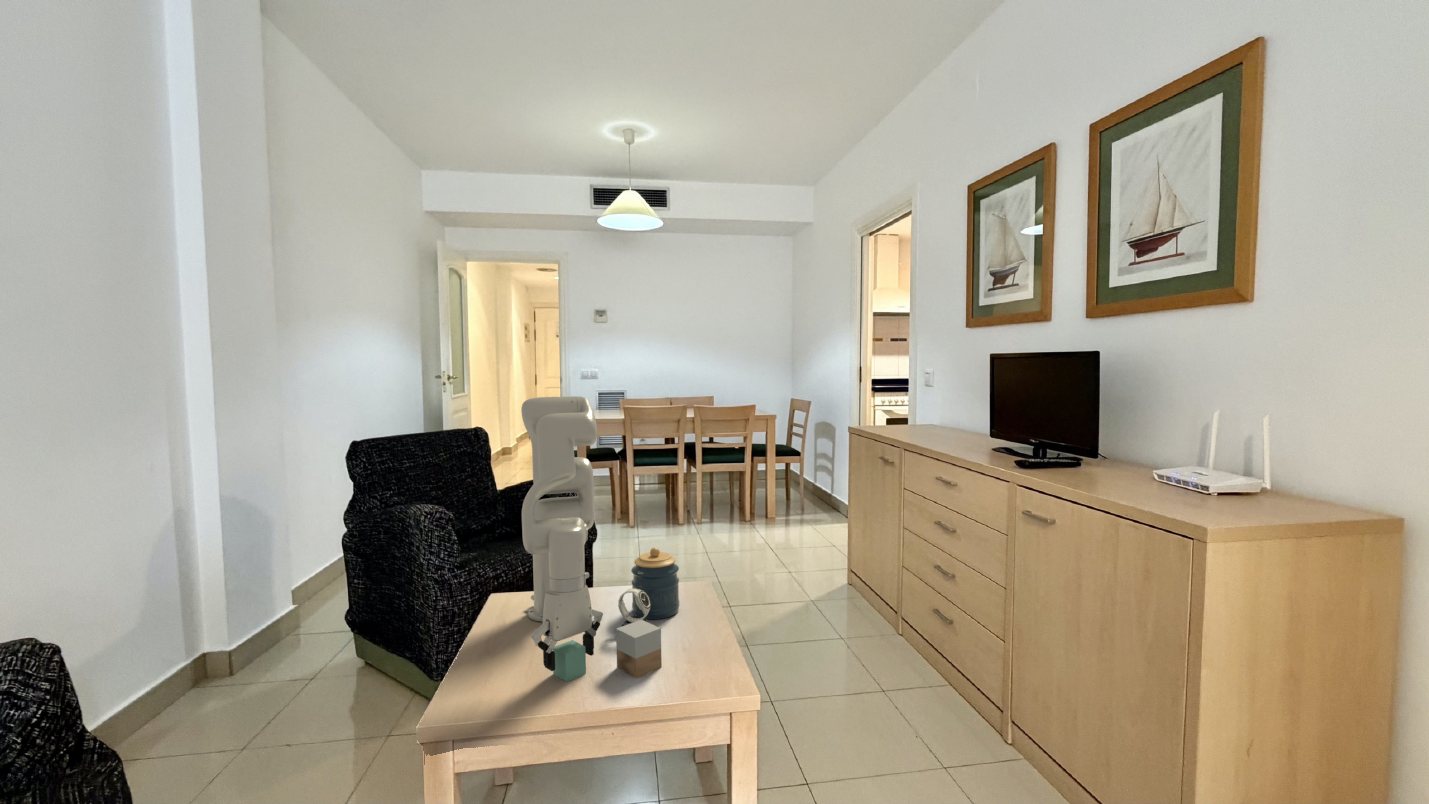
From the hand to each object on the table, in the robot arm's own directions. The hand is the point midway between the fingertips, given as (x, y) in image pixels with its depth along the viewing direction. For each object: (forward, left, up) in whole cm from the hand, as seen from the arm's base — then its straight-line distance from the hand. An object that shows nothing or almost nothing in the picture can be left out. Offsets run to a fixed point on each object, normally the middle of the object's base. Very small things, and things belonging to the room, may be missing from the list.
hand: (569, 661), depth 133 cm
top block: (+9, +12, +1) cm, 15 cm away
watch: (-6, +23, -3) cm, 24 cm away
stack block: (0, 0, -3) cm, 3 cm away
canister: (-13, +36, -3) cm, 39 cm away
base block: (+9, +12, -3) cm, 15 cm away
